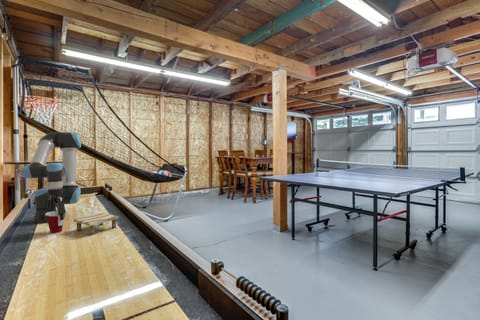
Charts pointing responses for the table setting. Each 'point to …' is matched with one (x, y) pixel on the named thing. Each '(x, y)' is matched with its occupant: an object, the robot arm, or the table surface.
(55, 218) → the plastic cup
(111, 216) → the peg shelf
